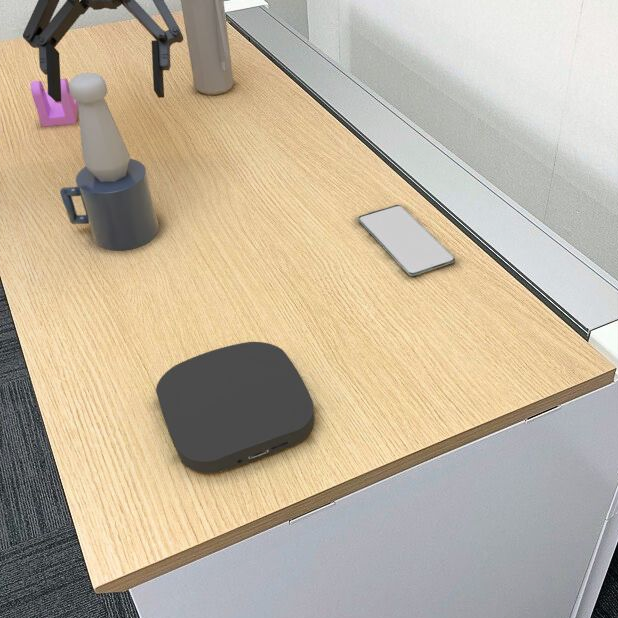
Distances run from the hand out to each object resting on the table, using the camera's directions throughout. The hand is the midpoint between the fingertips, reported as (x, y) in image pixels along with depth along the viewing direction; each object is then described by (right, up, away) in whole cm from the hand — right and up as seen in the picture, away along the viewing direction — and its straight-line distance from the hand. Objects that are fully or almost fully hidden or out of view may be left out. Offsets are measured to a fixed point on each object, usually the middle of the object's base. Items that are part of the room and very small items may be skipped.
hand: (107, 96), depth 97 cm
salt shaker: (+1, -10, 0) cm, 10 cm away
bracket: (-19, +9, +34) cm, 40 cm away
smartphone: (+39, -19, +4) cm, 44 cm away
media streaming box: (+20, -40, -18) cm, 48 cm away
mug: (-1, -17, +6) cm, 18 cm away
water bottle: (+8, +14, +38) cm, 42 cm away
